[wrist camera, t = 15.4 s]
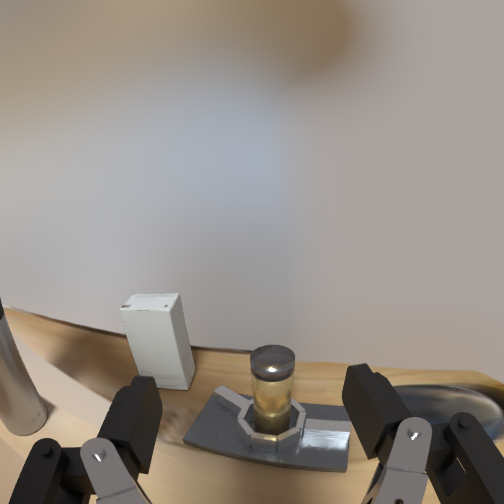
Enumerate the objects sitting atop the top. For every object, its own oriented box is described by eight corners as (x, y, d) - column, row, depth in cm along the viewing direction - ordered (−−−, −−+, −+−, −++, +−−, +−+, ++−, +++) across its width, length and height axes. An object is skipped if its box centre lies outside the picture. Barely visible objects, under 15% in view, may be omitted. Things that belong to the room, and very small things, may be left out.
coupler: (249, 437, 29) (244, 366, 26) (259, 413, 33) (257, 342, 30) (286, 443, 27) (290, 372, 24) (292, 418, 32) (298, 347, 29)
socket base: (184, 443, 28) (178, 427, 27) (216, 393, 39) (213, 377, 38) (345, 472, 23) (351, 457, 22) (349, 410, 33) (354, 394, 32)
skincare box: (196, 370, 44) (183, 291, 41) (188, 393, 38) (172, 309, 35) (151, 367, 45) (134, 291, 41) (140, 387, 39) (117, 306, 35)
